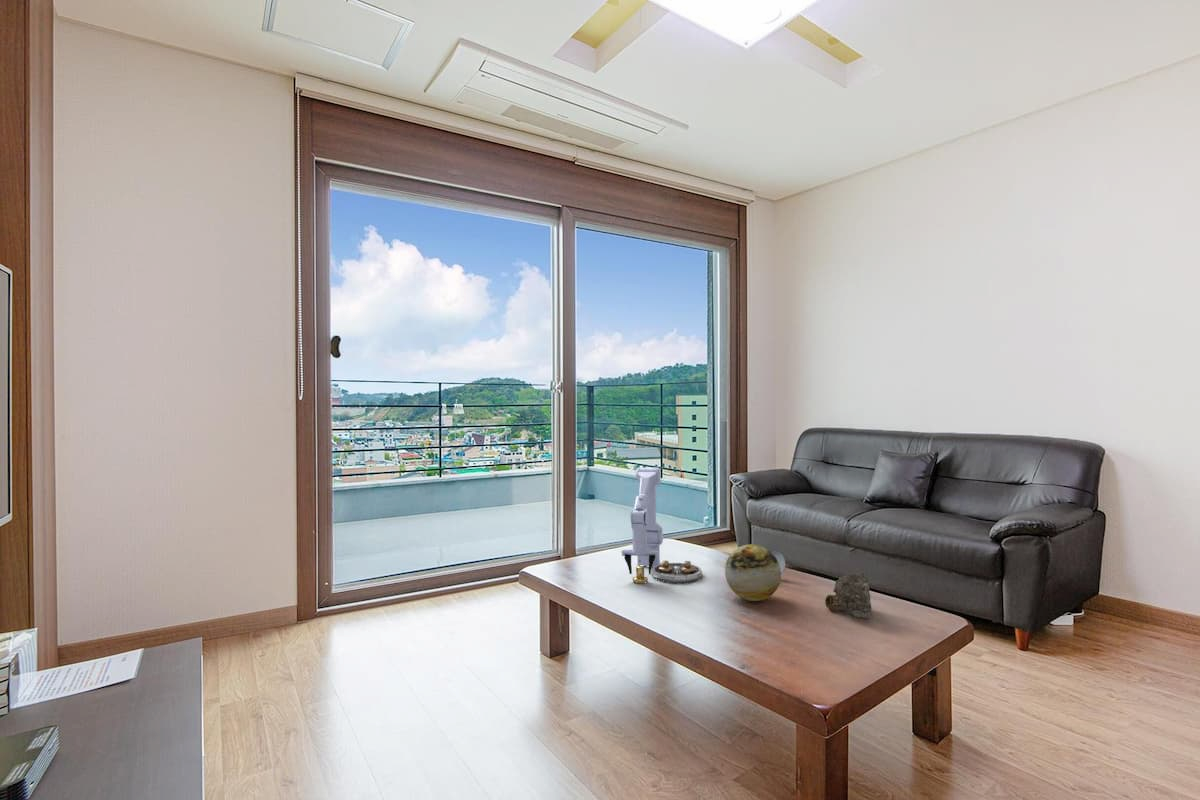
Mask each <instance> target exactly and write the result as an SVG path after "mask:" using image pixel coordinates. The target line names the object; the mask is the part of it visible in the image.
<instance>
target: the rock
mask: <svg viewBox="0 0 1200 800" xmlns="http://www.w3.org/2000/svg"><path fill="white" fill-rule="evenodd" d="M832 592H833V593H835V594H827V596H826V597H825V600H824V602H825V603H824V604H825V607H826V608H827V609H828V610H829V611H831V612H834V611H841V612H842V613H843V612H846V613H847V614H848V615H849V616H852V617H854V618H857V619H861V617H862V618H864V619H868V620H870V619H872V617H873V616H874V614H873V609H872V602H871V594H870V586H869V578H868V576H867V575H866V574H865V573H859V572H851V573H846V574H845V575H843V576H842V575H841V577H839V578H838V579H837V580H835V584H834V588H833V591H832Z"/></svg>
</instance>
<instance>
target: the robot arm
mask: <svg viewBox="0 0 1200 800" xmlns="http://www.w3.org/2000/svg"><path fill="white" fill-rule="evenodd" d="M635 472H636V473H635V474H636V477H635V478H636V480H637V483H638V484H639V493H638V495H637V496H636V497H635V500H634V506H633V510H632V511H631V512H630V524H631V529H632V549H621V556H622V557H624V561H625V563H626V564H627V567H628V571H629V575H632V573H633V569H632V556H633V557H634V556H636V557H637V559H636V560H637V564H636V566H637V565H643V566H649V567H648V575H652V567H654V566H656V565H659V564H663V563H662V561H660V560H661V558H660V557H661V556H660V553H661V552H660V551H661V549H660V546H661V545H662V544H663V542H664V531H663V527H662V526H661V525H660V524H659V523H658V522H657V503H656V502H657V499H656V498H657V494H656V493H657V492H656V491H657V486H660V485H661V469H660V467H640V466H638V467H637V469H636V471H635Z"/></svg>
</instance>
